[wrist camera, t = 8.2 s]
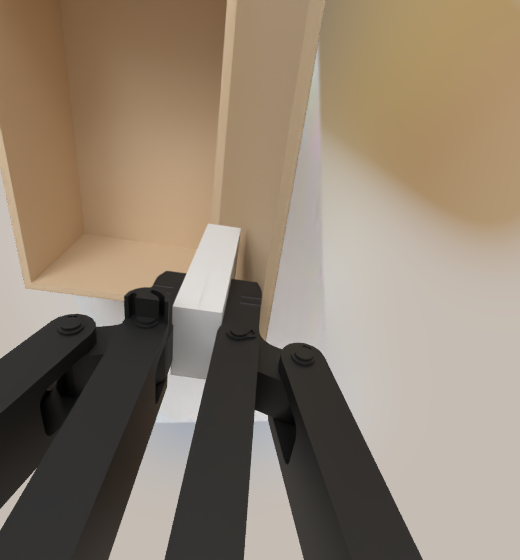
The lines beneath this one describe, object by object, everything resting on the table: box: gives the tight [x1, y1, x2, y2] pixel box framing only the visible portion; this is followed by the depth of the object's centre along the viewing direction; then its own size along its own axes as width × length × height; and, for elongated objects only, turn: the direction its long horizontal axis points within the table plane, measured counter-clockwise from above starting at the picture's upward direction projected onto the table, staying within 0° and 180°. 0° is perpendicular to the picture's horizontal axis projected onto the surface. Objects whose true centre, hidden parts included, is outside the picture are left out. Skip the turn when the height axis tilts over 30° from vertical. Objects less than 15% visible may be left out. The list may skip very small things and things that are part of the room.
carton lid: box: [219, 0, 325, 341], centre depth 21 cm, size 24×16×1 cm
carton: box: [0, 0, 237, 301], centre depth 32 cm, size 24×16×11 cm, turn 173°
